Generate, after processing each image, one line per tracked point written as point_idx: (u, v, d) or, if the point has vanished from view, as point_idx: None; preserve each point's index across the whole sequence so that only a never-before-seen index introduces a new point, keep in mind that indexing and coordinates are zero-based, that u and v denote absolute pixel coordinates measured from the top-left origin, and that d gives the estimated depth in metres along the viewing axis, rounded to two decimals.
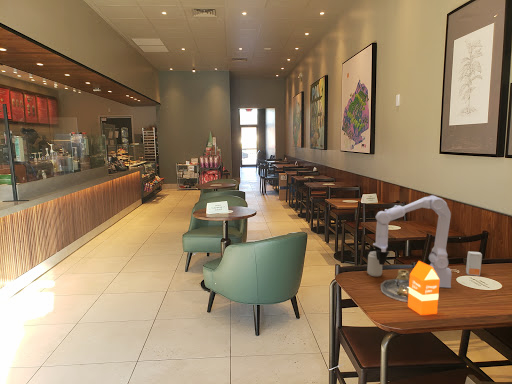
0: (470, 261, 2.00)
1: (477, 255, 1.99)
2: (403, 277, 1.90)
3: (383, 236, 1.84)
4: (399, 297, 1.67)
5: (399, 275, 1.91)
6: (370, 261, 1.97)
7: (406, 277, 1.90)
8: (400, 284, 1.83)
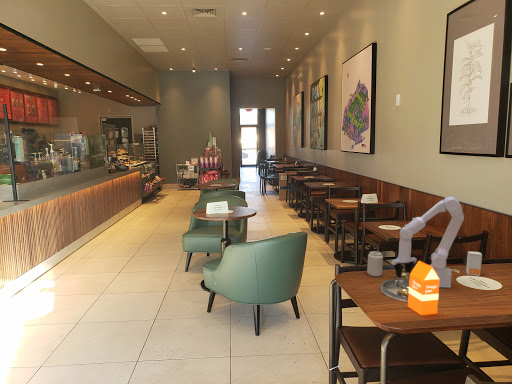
0: (470, 261, 2.00)
1: (477, 255, 1.99)
2: (403, 277, 1.90)
3: (405, 251, 1.88)
4: (399, 297, 1.67)
5: None
6: (370, 261, 1.97)
7: (406, 277, 1.90)
8: (400, 284, 1.83)
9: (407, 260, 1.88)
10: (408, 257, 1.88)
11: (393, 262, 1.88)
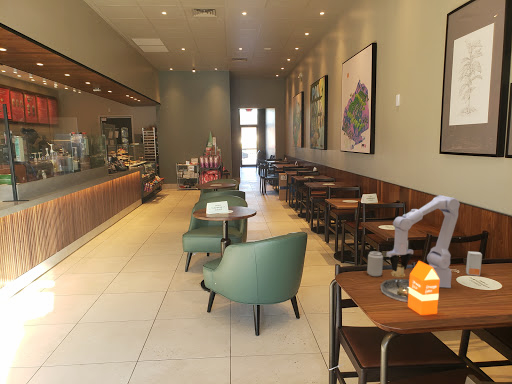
0: (470, 261, 2.00)
1: (477, 255, 1.99)
2: (398, 272, 1.79)
3: (404, 243, 1.76)
4: (399, 297, 1.67)
5: None
6: (370, 261, 1.97)
7: (401, 272, 1.79)
8: (400, 284, 1.83)
9: (403, 252, 1.77)
10: (404, 249, 1.77)
11: (388, 254, 1.77)
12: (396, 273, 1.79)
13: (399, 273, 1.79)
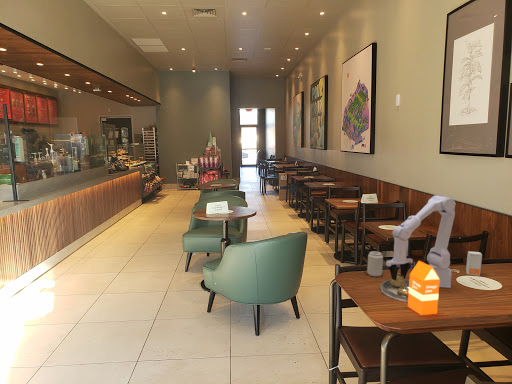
0: (470, 261, 2.00)
1: (477, 255, 1.99)
2: (397, 281, 1.79)
3: (404, 252, 1.77)
4: (399, 297, 1.67)
5: None
6: (370, 261, 1.97)
7: (401, 281, 1.79)
8: None
9: (403, 261, 1.77)
10: (404, 258, 1.77)
11: (388, 263, 1.77)
12: (395, 282, 1.80)
13: (398, 282, 1.79)
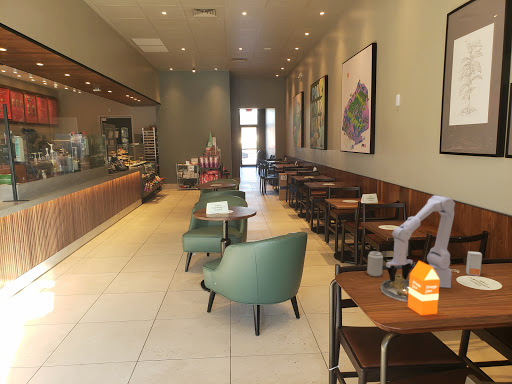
0: (470, 261, 2.00)
1: (477, 255, 1.99)
2: (397, 282, 1.79)
3: (404, 253, 1.77)
4: (399, 297, 1.67)
5: None
6: (370, 261, 1.97)
7: (401, 282, 1.79)
8: None
9: (402, 262, 1.77)
10: (404, 259, 1.77)
11: (388, 264, 1.77)
12: (395, 283, 1.80)
13: (398, 283, 1.79)
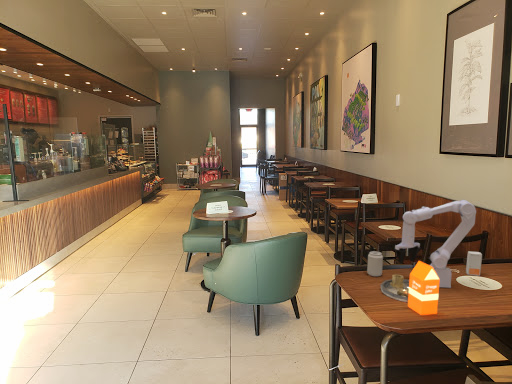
0: (470, 261, 2.00)
1: (477, 255, 1.99)
2: (397, 282, 1.79)
3: (409, 236, 1.85)
4: (399, 297, 1.67)
5: (393, 280, 1.81)
6: (370, 261, 1.97)
7: (401, 282, 1.79)
8: None
9: (411, 245, 1.86)
10: (412, 242, 1.86)
11: (397, 247, 1.85)
12: (395, 283, 1.80)
13: (398, 283, 1.79)
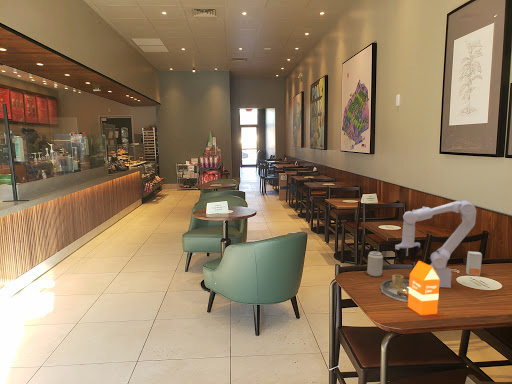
0: (470, 261, 2.00)
1: (477, 255, 1.99)
2: (397, 282, 1.79)
3: (409, 236, 1.86)
4: (399, 297, 1.67)
5: (393, 280, 1.81)
6: (370, 261, 1.97)
7: (401, 282, 1.79)
8: None
9: (411, 245, 1.86)
10: (412, 242, 1.86)
11: (397, 247, 1.86)
12: (395, 283, 1.80)
13: (398, 283, 1.79)
